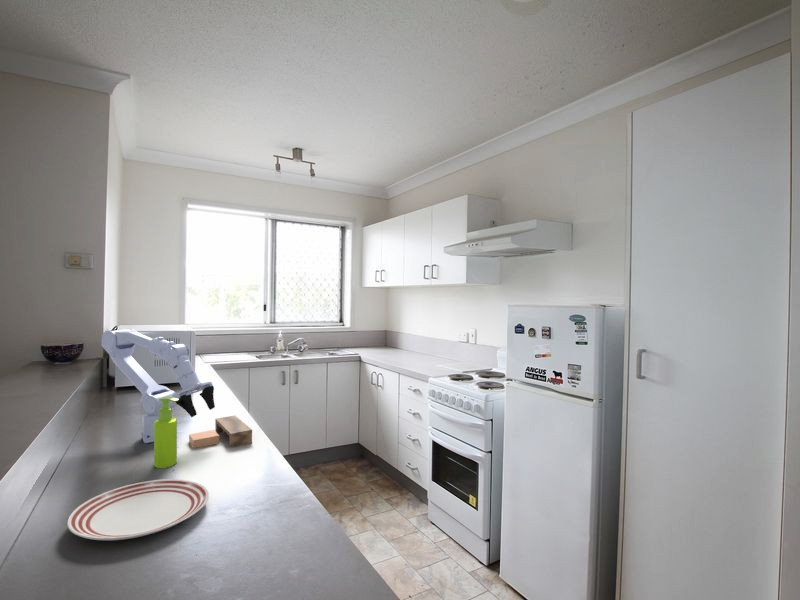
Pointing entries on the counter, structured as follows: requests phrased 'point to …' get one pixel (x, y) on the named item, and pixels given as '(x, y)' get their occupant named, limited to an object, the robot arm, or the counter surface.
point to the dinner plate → (137, 509)
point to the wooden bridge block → (234, 430)
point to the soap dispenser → (165, 436)
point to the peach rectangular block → (203, 438)
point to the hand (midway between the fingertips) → (203, 412)
